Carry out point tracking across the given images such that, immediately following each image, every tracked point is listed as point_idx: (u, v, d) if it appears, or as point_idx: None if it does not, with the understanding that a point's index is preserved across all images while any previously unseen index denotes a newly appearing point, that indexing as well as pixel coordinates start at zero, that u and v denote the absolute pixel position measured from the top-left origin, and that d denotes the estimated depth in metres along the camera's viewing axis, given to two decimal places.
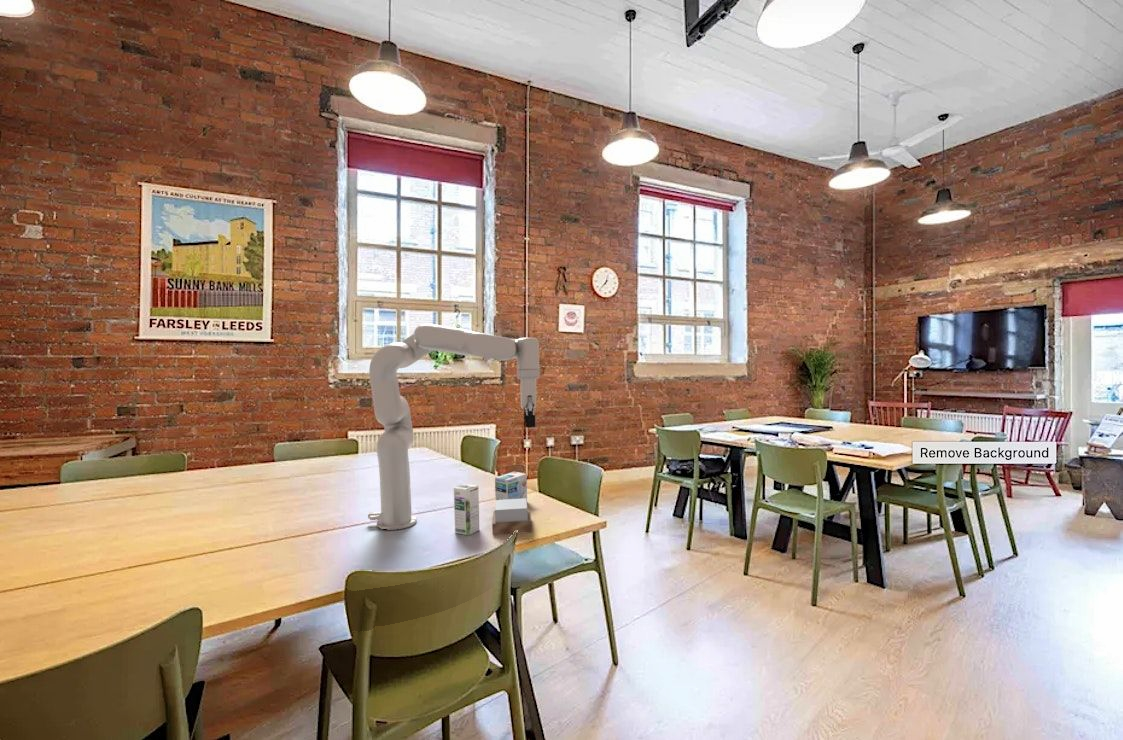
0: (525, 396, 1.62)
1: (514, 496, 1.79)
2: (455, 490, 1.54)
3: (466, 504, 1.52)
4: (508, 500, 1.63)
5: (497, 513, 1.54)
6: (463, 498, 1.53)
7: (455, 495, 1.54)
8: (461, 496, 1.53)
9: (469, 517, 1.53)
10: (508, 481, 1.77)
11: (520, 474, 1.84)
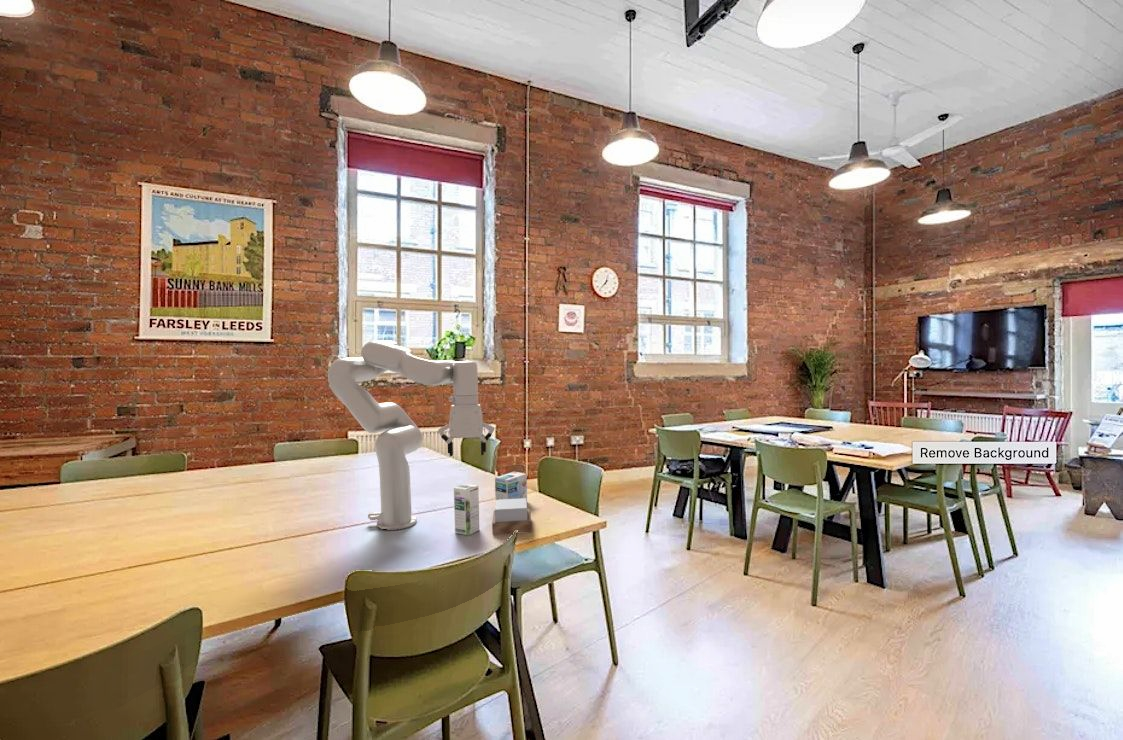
0: (482, 422, 1.55)
1: (514, 496, 1.79)
2: (455, 490, 1.54)
3: (466, 504, 1.52)
4: (508, 500, 1.63)
5: (497, 513, 1.54)
6: (463, 498, 1.53)
7: (455, 495, 1.54)
8: (461, 496, 1.53)
9: (469, 517, 1.53)
10: (508, 481, 1.77)
11: (520, 474, 1.84)
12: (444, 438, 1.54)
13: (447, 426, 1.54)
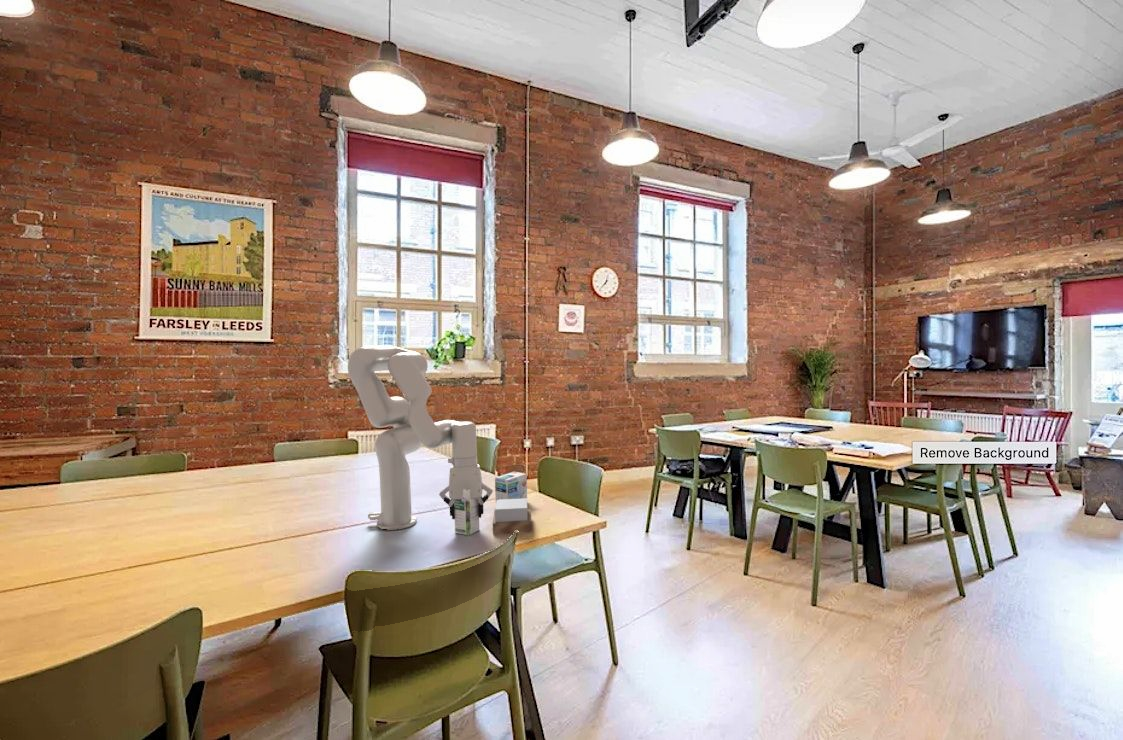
0: (481, 483, 1.55)
1: (514, 496, 1.79)
2: None
3: (466, 504, 1.52)
4: (508, 500, 1.63)
5: (497, 513, 1.54)
6: None
7: None
8: None
9: (469, 517, 1.53)
10: (508, 481, 1.77)
11: (520, 474, 1.84)
12: (446, 501, 1.54)
13: (447, 488, 1.55)
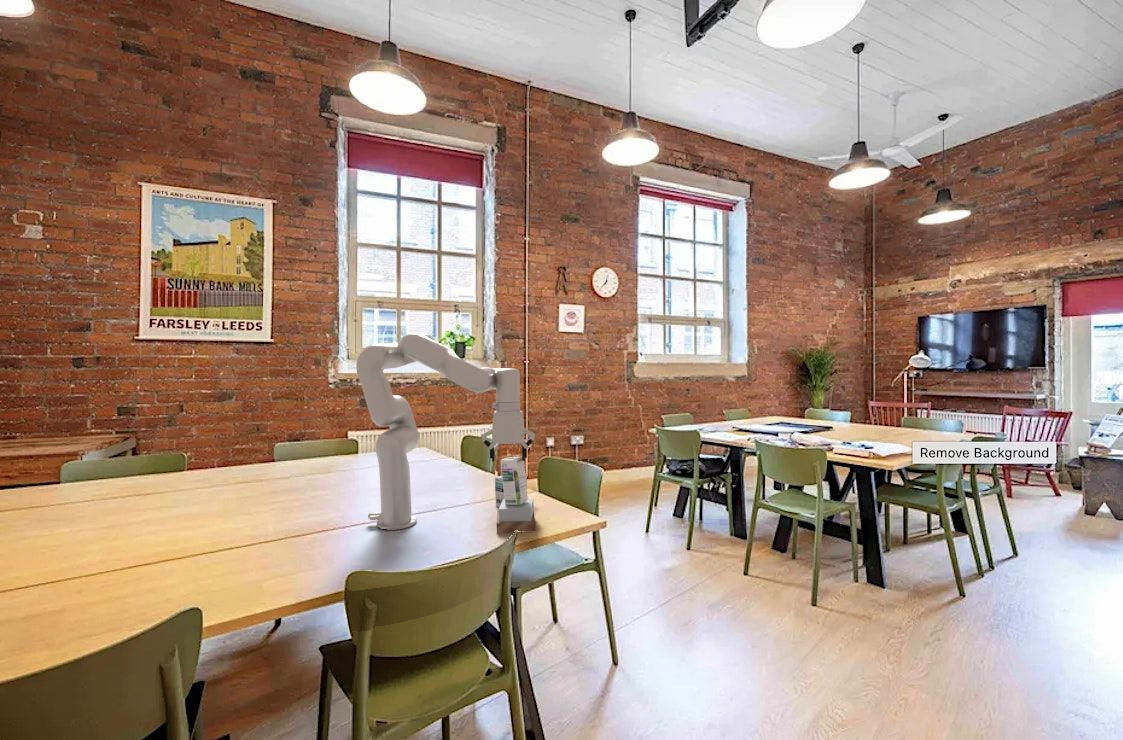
0: (524, 429, 1.58)
1: None
2: (502, 462, 1.59)
3: (514, 474, 1.57)
4: None
5: (501, 512, 1.55)
6: (510, 469, 1.57)
7: (502, 467, 1.59)
8: (508, 467, 1.58)
9: (518, 487, 1.57)
10: None
11: None
12: (486, 444, 1.57)
13: (490, 432, 1.57)
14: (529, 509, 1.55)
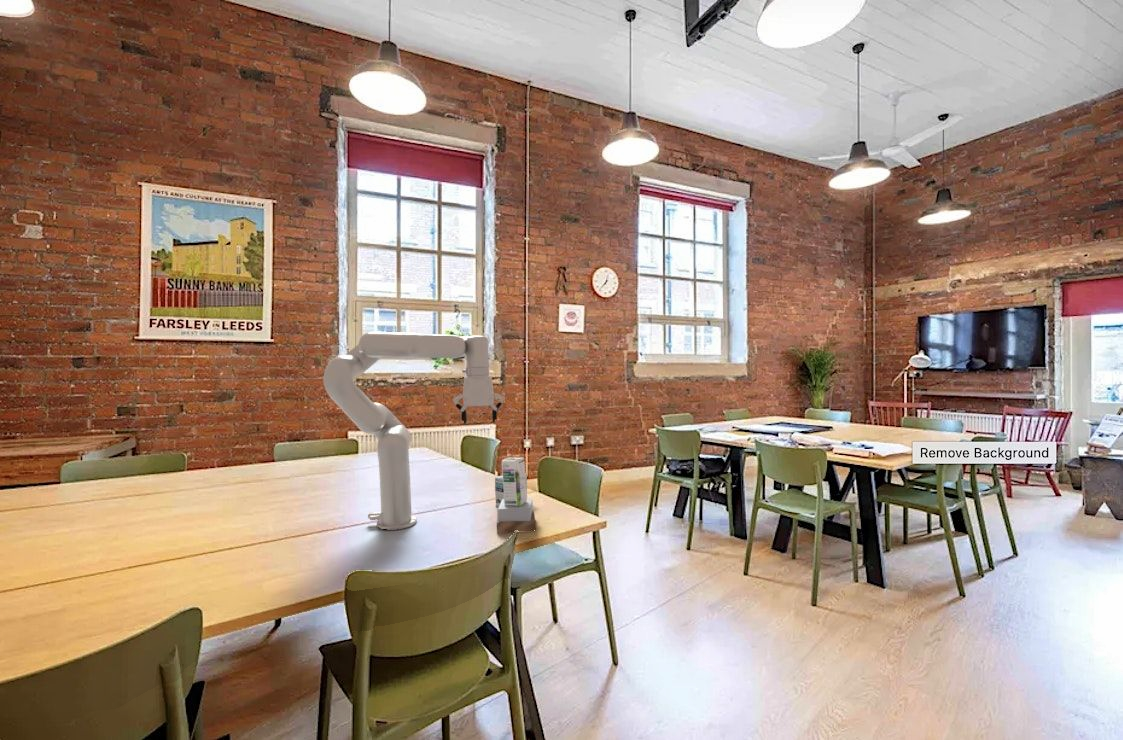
0: (493, 392, 1.68)
1: None
2: (503, 463, 1.57)
3: (516, 475, 1.56)
4: None
5: (500, 512, 1.55)
6: (512, 470, 1.56)
7: (503, 468, 1.57)
8: (510, 468, 1.57)
9: (519, 488, 1.56)
10: None
11: None
12: (458, 407, 1.67)
13: (461, 396, 1.68)
14: (528, 509, 1.55)
